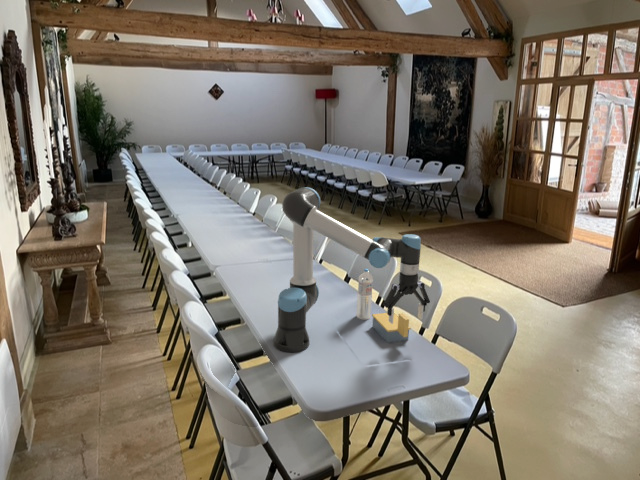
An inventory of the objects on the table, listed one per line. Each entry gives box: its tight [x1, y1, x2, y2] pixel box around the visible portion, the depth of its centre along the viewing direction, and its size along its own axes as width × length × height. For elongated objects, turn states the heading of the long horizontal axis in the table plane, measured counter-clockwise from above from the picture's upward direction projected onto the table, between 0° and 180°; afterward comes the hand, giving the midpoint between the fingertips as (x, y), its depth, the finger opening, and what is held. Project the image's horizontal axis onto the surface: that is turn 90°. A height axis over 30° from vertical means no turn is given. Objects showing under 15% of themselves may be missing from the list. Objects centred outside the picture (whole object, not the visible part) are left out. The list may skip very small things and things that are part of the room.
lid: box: [371, 312, 412, 338], centre depth 207 cm, size 11×23×8 cm, turn 17°
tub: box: [372, 316, 410, 344], centre depth 212 cm, size 10×16×6 cm, turn 17°
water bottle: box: [356, 268, 374, 321], centre depth 225 cm, size 7×7×25 cm
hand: (405, 320), depth 198 cm, fingers open, 13 cm apart
